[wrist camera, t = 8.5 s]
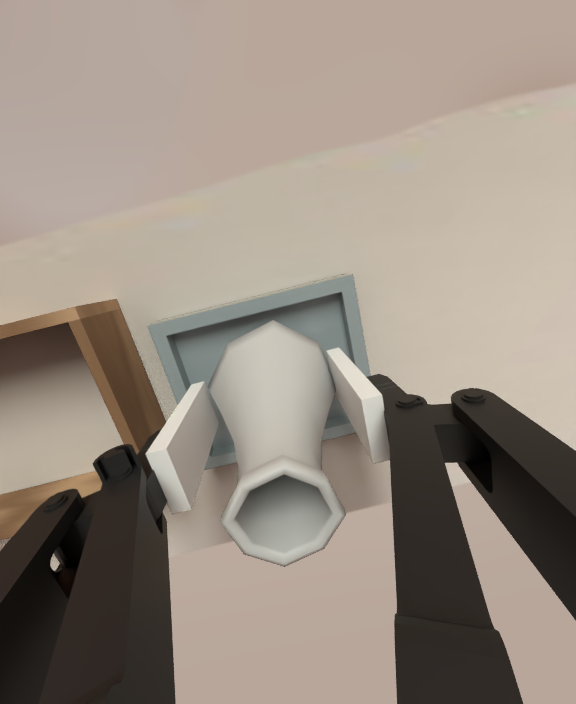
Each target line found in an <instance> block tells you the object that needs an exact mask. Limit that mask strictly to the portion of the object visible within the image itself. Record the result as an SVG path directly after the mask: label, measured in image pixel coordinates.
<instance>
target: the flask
mask: <svg viewBox="0 0 576 704" xmlns="http://www.w3.org/2000/svg"><path fill="white" fill-rule="evenodd" d="M208 389H209V391H210V393H211V395H212V397H213V399H214V401H215V403H216V404H217V406H218V408H219V410H220V412H221V414H222V416H223V418H224V421H225V423H226V425H227V427H228V430H229V432H230V434H231V436H232V439H233V441H234V445H235V452H236V459H237V465H238V481H237V487H236V489H235V491H234V493H233V494H232V496H231V498H230V500H229V502H228V504H227V506H226V508H225V510H224V512H223V514H222V516H221V523H222V525H223V526H224V527H225V529H226V530H227V532H228V533H229V534H230V536H231V537H232V538H233V540H234V541H235V543H236V544H237V545H238V547H239V548H240V549H241V551H242V552H243V553H244V554H245V555H248V556H252V557H255V558H258V559H261V560H265V561H268V562H271V563H274V564H277V565H280V566H284V567H285V566H287V565H289V564H292V563H294V562H296V561H298V560H300V559H303V558H305V557H307V556H309V555H311V554H313V553H316V552H318V551H320V550H322V549H324V548H325V546H326V545H327V543H328V542H329V540H330V539H331V537H332V536H333V534H334V532H335V531H336V529H337V528H338V526H339V525H340V523H341V522H342V520H343V519H344V517H345V515H346V514H345V510H344V507H343V506H342V504H341V502H340V500H339V498H338V497H337V495H336V493H335V491H334V489H333V488H332V486H331V484H330V482H329V480H328V479H327V477H326V475H325V474H324V472H323V471H322V441H321V438H322V435H323V431H324V427H325V424H326V420H327V416H328V413H329V409H330V406H331V403H332V401H333V398H334V395H335V392H336V389H335V385H334V382H333V378H332V375H331V372H330V367H329V363H328V361H327V359H326V357H325V355H324V353H323V351H322V349H321V346H320V344H319V342H318V341H316V340H313V339H311V338H309V337H307V336H305V335H303V334H301V333H299V332H297V331H295V330H293V329H291V328H289V327H286V326H284V325H282V324H280V323H278V322H276V321H274V320H272V321H270V322H268V323H266V324H264V325H262V326H261V327H259V328H257V329H255V330H253V331H251V332H249V333H247V334H245V335H243V336H241V337H239V338H237V339H235V340H233V341H231V342H229V343H227V346H226V348H225V350H224V352H223V354H222V356H221V359H220V361H219V363H218V365H217V367H216V369H215V372H214V374H213V376H212V378H211V380H210V382H209V385H208Z"/></svg>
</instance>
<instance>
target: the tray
mask: <svg viewBox="0 0 576 704" xmlns="http://www.w3.org/2000/svg"><path fill="white" fill-rule="evenodd" d="M272 320H274V321H276V322H278V323H280V324H282V325H284V326H286V327H289V328H291V329H293V330H295V331H297V332H299V333H301V334H303V335H305V336H307V337H309V338H311V339H313V340H316V341H318V342H319V344H320V346H321V349H322V351H323V353H324V355H325V357H326V359H327V361H328V358H327V353H326V351H327V350H331V349H335V348H340V349H341V350H342V351H343V352H344V353H345V355H346V356H347V357H348V358H349V359H350V360H351V361H352V362H353V363H354V364H355V366H356V367H357V368H358V369H359V370H360V371H361V372H362V373H363V374H364V375H365V376H366V377H369V376H371V375H370V370H369V364H368V358H367V352H366V346H365V341H364V335H363V329H362V323H361V317H360V311H359V306H358V300H357V294H356V288H355V282H354V277H353V274H342V275H338V276H334V277H330V278H326V279H322V280H318V281H314V282H310V283H307V284H303V285H299V286H295V287H291V288H287V289H283V290H279V291H275V292H271V293H267V294H263V295H259V296H255V297H251V298H247V299H243V300H239V301H235V302H231V303H227V304H223V305H219V306H215V307H211V308H207V309H203V310H199V311H195V312H191V313H187V314H183V315H179V316H175V317H171V318H167V319H163V320H159V321H157V322H155V323H152V324H150V325H148V329H149V331H150V334H151V336H152V339H153V342H154V344H155V347H156V350H157V352H158V355H159V357H160V360H161V363H162V365H163V368H164V370H165V373H166V376H167V378H168V381H169V383H170V386H171V389H172V391H173V394H174V397H175V399H176V402H177V404H179V403H180V401H181V400H182V398H183V397H184V395H185V394H186V392H187V391H188V389H189V388H190V386H191V385H192V384H195V383H199V382H203V381H205V384H206V386H207V389H208V385H209V382H210V380H211V378H212V376H213V374H214V372H215V369H216V367H217V365H218V363H219V361H220V359H221V356H222V354H223V352H224V350H225V348H226V346H227V343H229V342H231V341H233V340H235V339H237V338H239V337H241V336H243V335H245V334H247V333H249V332H251V331H253V330H255V329H257V328H259V327H261V326H262V325H264V324H266V323H268V322H270V321H272ZM208 392H209V395H210V398H211V401H212V404H213V407H214V410H215V413H216V415H217V418H218V421H219V424H218V427H217V431H216V434H215V437H214V440H213V443H212V446H211V449H210V453H209V456H208V459H207V462H206V465H205V468H204V470H208V469H212V468H216V467H220V466H224V465H228V464H232V463H236V462H237V459H236V452H235V445H234V441H233V439H232V436H231V434H230V432H229V430H228V427H227V425H226V423H225V421H224V418H223V416H222V414H221V412H220V410H219V408H218V406H217V404H216V403H215V401H214V399H213V397H212V395H211V393H210V391H209V389H208ZM352 433H356V431H355V429H354V428H353V426H352V424H351V422H350V420H349V418H348V417H347V415H346V413H345V411H344V409H343V407H342V405H341V404H340V402H339V400H338V398H337V396H336V394H335V395H334V398H333V401H332V403H331V406H330V409H329V413H328V416H327V420H326V424H325V427H324V431H323V435H322V438H321V441H324V440H328V439H332V438H336V437H340V436H344V435H348V434H352Z"/></svg>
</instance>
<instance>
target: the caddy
mask: <svg viewBox="0 0 576 704" xmlns="http://www.w3.org/2000/svg"><path fill="white" fill-rule="evenodd" d="M66 322H68V323H69V325H70V328H71V330H72V332H73V334H74V336H75V339H76V341H77V343H78V345H79V347H80V349H81V352H82V354H83V356H84V358H85V360H86V362H87V365H88V367H89V369H90V371H91V373H92V376H93V378H94V380H95V382H96V384H97V386H98V389H99V391H100V393H101V395H102V397H103V399H104V402H105V404H106V406H107V408H108V410H109V413H110V415H111V417H112V419H113V421H114V423H115V426H116V428H117V430H118V432H119V434H120V436H121V439H122V441H123V443H124V444H131V445H133V448H134V450H135V452H136V454H138V453H139V451H141V448H142V447H143V446H144V445H145V443H146V441H147V440H148V438H149V437H150V436H151V435H153V434H154V433H155V432H156V431H157V430H161V429H162V428H163V427H164V425H165V424H166V421H165V419H164V416H163V414H162V411H161V409H160V406H159V404H158V401H157V399H156V396H155V394H154V391H153V389H152V386H151V384H150V381H149V379H148V376H147V374H146V371H145V369H144V366H143V364H142V361H141V359H140V356H139V354H138V352H137V349H136V347H135V344H134V342H133V339H132V337H131V334H130V332H129V329H128V327H127V324H126V322H125V319H124V317H123V314H122V312H121V309H120V307H119V304H118V302H117V299H113V300H108V301H103V302H97V303H92V304H87V305H82V306H76V307H72V308H68V309H64V310H60V311H56V312H52V313H48V314H44V315H40V316H36V317H32V318H28V319H24V320H20V321H16V322H12V323H8V324H4V325H0V339H2V338H6V337H10V336H14V335H18V334H22V333H26V332H30V331H34V330H38V329H42V328H46V327H50V326H54V325H58V324H62V323H66ZM101 486H102V481H101V479H100V477H99V475H98V474H97V472H96V471H95V472H90V473H86V474H82V475H78V476H74V477H70V478H66V479H62V480H58V481H54V482H50V483H46V484H42V485H38V486H34V487H30V488H26V489H22V490H18V491H14V492H10V493H6V494H2V495H0V540H1V539H5V538H9V537H13V536H14V534H15V533H16V532H17V531H18V530H19V529H20V527H21V526H22V525H23V524H24V523H25V522H26V520H27V519H28V518H29V517H30V516H31V514H32V513H33V512H34V511H35V510H36V509H37V508H38V507H39V506H40V505H41V504H42V503H44V502H45V501H46V500H47V499H48V498H49V497H51V496H53V495H55V494H56V493H58V492H63V491H65V490H68V489H77V490H78V492H79V493H80V495H81V497H82V498H83V497H85V496H88V495H90V494H92V493H95V492H97V491H99V490H101Z"/></svg>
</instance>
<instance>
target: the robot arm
mask: <svg viewBox="0 0 576 704" xmlns="http://www.w3.org/2000/svg"><path fill="white" fill-rule="evenodd" d="M326 353H327V358H328V363H329V367H330V372H331V375H332V378H333V382H334V385H335V389H336V392H335V394H336V396H337V398H338V400H339V402H340V404H341V405H342V407H343V409H344V411H345V413H346V415H347V417H348V418H349V420H350V422H351V424H352V426H353V428H354V429H355V431H356V433H357V435H358V437H359V439H360V441H361V442H362V444H363V446H364V448H365V450H366V452H367V453H368V455H369V457H370V459H371V461H372V463H373V464H375V463H379V462H383V461H387V460H390V468H391V489H392V509H393V530H394V551H395V570H396V592H397V613H396V614H395V624H394V625H395V657H396V684H397V704H523V701H522V698H521V695H520V692H519V688H518V686H517V682H516V679H515V676H514V673H513V669H512V666H511V663H510V660H509V657H508V654H507V651H506V648H505V645H504V642H503V640H502V638H501V636H500V633H499V632H498V631H497V630H495V629H494V627H493V624H492V622H491V619H490V615H489V612H488V609H487V605H486V602H485V599H484V596H483V592H482V589H481V585H480V582H479V578H478V575H477V572H476V568H475V565H474V561H473V558H472V555H471V551H470V548H469V544H468V541H467V538H466V534H465V531H464V527H463V524H462V520H461V517H460V514H459V510H458V507H457V503H456V500H455V497H454V493H453V490H452V486H451V483H450V480H449V476H448V473H447V469H446V466H445V463H454V462H457V463H458V465H459V466H460V468H461V469H462V470H463V472H464V473H465V474H466V476H467V477H468V478H469V480H470V481H471V482H472V484H473V485H474V486H475V488H476V489H477V490H478V492H479V493H480V494H481V495H482V497H483V498H484V500H485V501H486V502H487V503H488V505H489V506H490V507H491V509H492V510H493V511H494V513H495V514H496V515H497V517H498V518H499V519H500V521H501V522H502V523H503V524H504V526H505V527H506V529H507V530H508V531H509V533H510V534H511V535H512V536H513V538H514V539H515V541H516V542H517V543H518V544H519V546H520V547H521V548H522V550H523V551H524V553H525V554H526V555H527V556H528V558H529V559H530V560H531V562H532V563H533V564H534V566H535V567H536V568H537V570H538V571H539V572H540V574H541V575H542V576H543V578H544V579H545V580H546V581H547V583H548V584H549V585H550V587H551V588H552V590H553V591H554V592H555V594H556V595H557V596H558V597H559V599H560V600H561V601H562V602H563V604H564V605H565V607H566V608H567V609H568V611H569V612H570V613H571V615H572V616H573V617H574V619H575V620H576V451H575V450H574V449H572V448H571V447H569V446H568V445H566V444H565V443H564V442H562V441H561V440H559V439H558V438H556V437H555V436H554V435H552V434H551V433H549V432H548V431H546V430H545V429H544V428H542V427H541V426H539V425H538V424H536V423H535V422H534V421H532V420H531V419H529V418H528V417H526V416H525V415H524V414H522V413H521V412H519V411H518V410H516V409H515V408H514V407H512V406H511V405H509V404H508V403H506V402H505V401H504V400H502V399H501V398H499V397H498V396H496V395H495V394H493V393H491V392H489V391H486V390H482V389H477V388H475V389H474V388H469V389H463V390H459V391H456V392H455V393H453V394H452V396H451V403H452V404H439V405H430V404H427V401H426V400H425V399H424V398H422V397H420V396H417V395H412V394H406V393H405V392H404V391H403V390H402V389H401V388H400V387H398V386H397V385H396V384H395V383H394V382H392V380H391V379H389V378H388V377H387V376H384V375H381V374H377V375H373V376H369V377H366V376H365V375H364V374H363V373H362V372H361V371H360V370H359V369H358V368H357V367H356V366H355V364H354V363H353V362H352V361H351V360H350V359H349V358H348V357H347V356H346V355H345V353H344V352H343V351H342V350H341V349H340V348H335V349H331V350H327V351H326ZM218 424H219V421H218V418H217V415H216V413H215V410H214V407H213V404H212V401H211V398H210V395H209V392H208V389H207V386H206V384H205V381H203V382H199V383H195V384H192V385H191V386H190V388H189V389H188V391H187V392H186V394H185V395H184V397H183V398H182V400H181V401H180V403H179V404H178V406H177V407H176V409H175V410H174V412H173V413H172V415H171V416H170V418H169V419H168V421H167V422H166V424H165V425H164V427H163V428H162V429H161V430H157V431H156V432H155V433H154V434H153V435H151V436H150V437H149V438H148V440H147V441H146V443H145V445H144V446H143V447H142V448H141V451H139V453H138V454H136V452H135V450H134V448H133V445H131V444H124V445H120V446H117V447H114V448H112V449H110V450H108V451H106V452H105V453H103V454H102V455H100V456H99V457H98V458H97V459H96V460H95V461H94V463H93V466H94V468H95V470H96V472H97V474H98V475H99V477H100V479H101V481H102V486H101V490H99V491H97V492H95V493H92V494H90V495H88V496H85V497H83V498H82V497H81V495H80V493H79V492H78V490H77V489H68V490H65V491H63V492H58V493H56V494H55V495H53V496H51V497H49V498H48V499H47V500H46V501H45V502H44V503H42V504H41V505H40V506H39V507H38V508H37V509H36V510H35V511H34V512H33V513H32V514H31V516H30V517H29V518H28V519H27V520H26V522H25V523H24V524H23V525H22V526H21V527H20V529H19V530H18V531H17V532H16V533H15V534H14V536H13V537H12V538H11V539H10V540H9V541H8V543H7V544H6V545H5V546H4V547H3V549H2V550H1V551H0V704H175V683H174V663H173V644H172V643H173V642H172V621H171V601H170V580H169V559H168V539H167V521H166V519H165V516H164V514H163V509H164V507H165V505H166V502H167V504H168V506H169V509H170V511H171V513H172V514H175V513H179V512H183V511H187V510H191V509H192V506H193V503H194V500H195V497H196V493H197V490H198V487H199V484H200V481H201V478H202V475H203V471H204V468H205V465H206V462H207V459H208V456H209V453H210V449H211V446H212V443H213V440H214V437H215V434H216V431H217V427H218ZM53 553H54V555H55V556H56V558H57V559H58V561H59V563H60V564H59V566H58V568H57V569H56V571H53V570H52V568H51V567H50V560H51V557H52V555H53Z"/></svg>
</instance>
